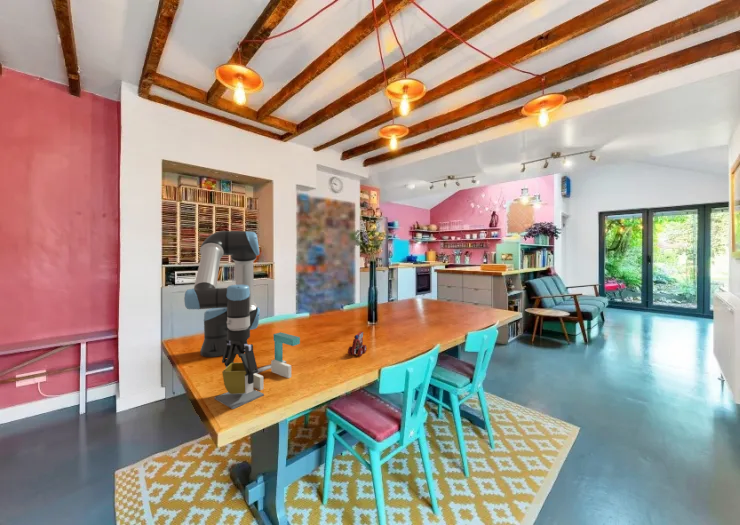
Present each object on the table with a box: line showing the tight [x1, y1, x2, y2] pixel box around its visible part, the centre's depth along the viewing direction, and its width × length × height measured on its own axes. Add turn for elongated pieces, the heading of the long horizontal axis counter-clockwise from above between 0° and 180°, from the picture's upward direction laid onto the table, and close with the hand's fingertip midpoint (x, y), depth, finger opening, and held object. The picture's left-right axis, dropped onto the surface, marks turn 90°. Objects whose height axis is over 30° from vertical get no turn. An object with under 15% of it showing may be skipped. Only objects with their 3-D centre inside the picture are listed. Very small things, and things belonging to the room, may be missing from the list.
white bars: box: [253, 359, 292, 391], centre depth 129 cm, size 18×24×5 cm
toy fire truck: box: [347, 331, 367, 357], centre depth 156 cm, size 7×12×10 cm, turn 160°
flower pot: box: [221, 362, 246, 394], centre depth 108 cm, size 9×9×9 cm
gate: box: [273, 331, 301, 362], centre depth 137 cm, size 14×4×14 cm, turn 55°
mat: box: [213, 388, 265, 410], centre depth 109 cm, size 12×12×1 cm
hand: (239, 387), depth 109 cm, fingers closed on flower pot, 12 cm apart
